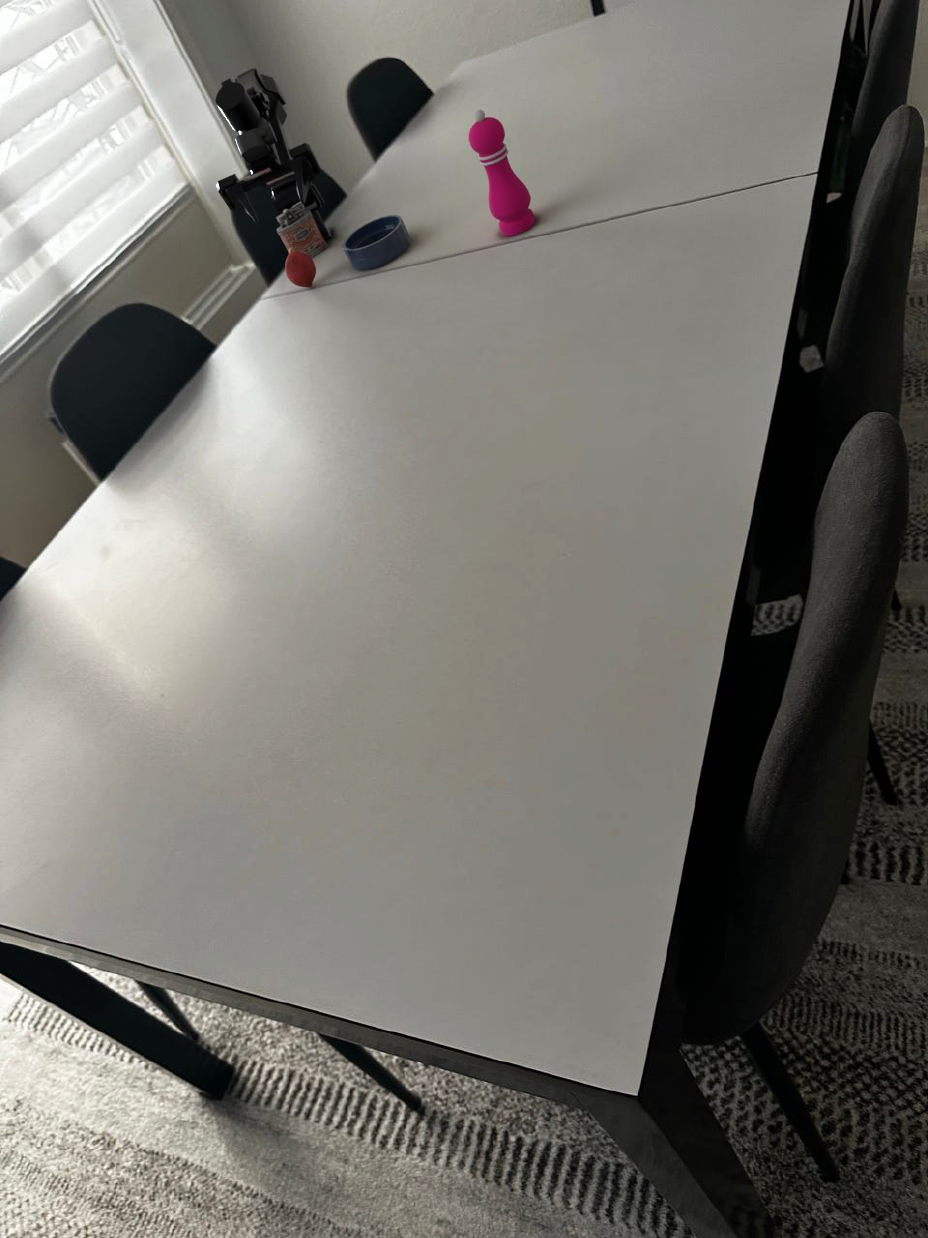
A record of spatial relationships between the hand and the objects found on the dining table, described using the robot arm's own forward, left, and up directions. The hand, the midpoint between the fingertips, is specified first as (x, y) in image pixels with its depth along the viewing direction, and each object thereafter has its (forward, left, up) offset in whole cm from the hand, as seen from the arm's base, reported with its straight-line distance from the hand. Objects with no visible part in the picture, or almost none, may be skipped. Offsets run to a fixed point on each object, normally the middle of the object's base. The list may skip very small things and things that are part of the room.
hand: (280, 212), depth 169 cm
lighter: (-19, -1, -15) cm, 25 cm away
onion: (-2, -2, -15) cm, 16 cm away
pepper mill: (+16, +38, -15) cm, 44 cm away
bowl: (-1, +14, -15) cm, 20 cm away
